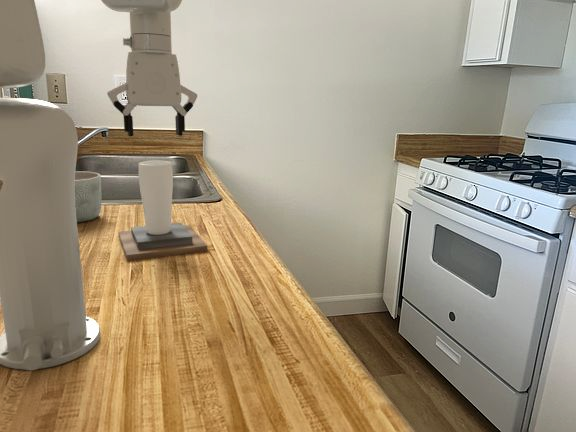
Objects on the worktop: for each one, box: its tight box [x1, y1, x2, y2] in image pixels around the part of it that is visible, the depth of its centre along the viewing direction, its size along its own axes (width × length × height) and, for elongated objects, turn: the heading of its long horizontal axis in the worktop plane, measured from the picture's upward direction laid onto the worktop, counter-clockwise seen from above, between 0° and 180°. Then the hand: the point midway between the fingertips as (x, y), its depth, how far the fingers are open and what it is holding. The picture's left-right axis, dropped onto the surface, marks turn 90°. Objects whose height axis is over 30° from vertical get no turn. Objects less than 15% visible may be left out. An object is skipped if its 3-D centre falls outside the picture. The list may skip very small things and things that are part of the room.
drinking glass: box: [138, 159, 174, 235], centre depth 100 cm, size 7×7×15 cm
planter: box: [75, 170, 102, 223], centre depth 119 cm, size 12×12×11 cm
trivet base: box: [117, 222, 208, 262], centre depth 103 cm, size 16×16×3 cm
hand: (155, 135), depth 97 cm, fingers open, 9 cm apart
